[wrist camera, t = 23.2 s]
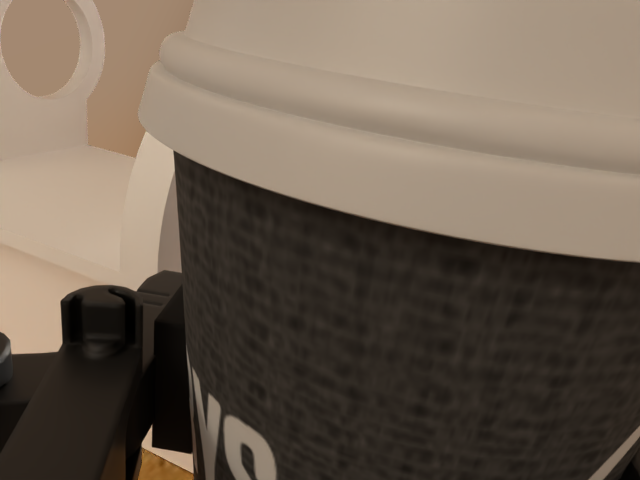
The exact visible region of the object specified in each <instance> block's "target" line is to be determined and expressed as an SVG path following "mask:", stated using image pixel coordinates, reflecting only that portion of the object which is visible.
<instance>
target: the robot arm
mask: <svg viewBox="0 0 640 480" xmlns="http://www.w3.org/2000/svg"><path fill="white" fill-rule="evenodd" d="M60 305H61V324H62V342H63V343H62V345H61V347H60V349H59V351H58V352H48V353H26V354H12V352H11V342H10V339H9V338H8V337H7V336H6V335H5V334H4V333H1V332H0V480H138V476H139V472H140V468H141V464H142V442H143V440H144V438H145V437H146V435H147V433H148V431H149V430H150V428H151V426H152V447H153V448H159V449H164V450H170V451H176V452H181V453H187V454H192V435H191V417H190V400H189V383H188V366H187V349H186V333H185V317H184V300H183V284H182V273H180V272H174V271H168V270H163V271H161V272H159V273H157V274H155V275H153V276H151V277H148V278H147V279H146V280H145V281H144V282H143V283H142V284H141V285H140V287H139V288H138V289H137V292H136V291H134V290H131V289H129V288H127V287H122V286H116V285H95V286H90V287H85V288H80V289H78V290H76V291H73V292H71V293H69V294H67V295H66V296H65V297H64V298H63V299H62V300H61V301H60ZM620 480H640V447H639V449H638V450H637V452H636V454H635V455H634V457H633V458H632V459H631V461H630V463H629V464H628V466H627V468H626V470H625V471H624V473H623V475H622V476H621V478H620Z"/></svg>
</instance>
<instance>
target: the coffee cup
mask: <svg viewBox="0 0 640 480" xmlns="http://www.w3.org/2000/svg"><path fill="white" fill-rule="evenodd" d="M159 58H160V60H159V61H157V62H155V63H154V64H153V65H152V67H151V68H150V71H149V74H148V77H147V81H146V85H145V89H144V93H143V96H142V100H141V103H140V106H139V110H138V118H139V121H140V123H141V124H142V125H143V127H144V128H145V129H146V131H147V132H148V133H150V134H151V135H152V136H153V137H154V138H156V139H157V140H158V141H160V142H161V143H163V144H164V145H166V146H167V147H169V148H170V149H172V150H173V154H174V167H175V180H176V194H177V208H178V223H179V238H180V253H181V269H182V284H183V300H184V317H185V333H186V349H187V366H188V383H189V400H190V417H191V435H192V454H193V471H194V480H620V478H621V476H622V475H623V473H624V471H625V470H626V468H627V466H628V464H629V463H630V461H631V459H632V458H633V457H634V455H635V454H636V452H637V450H638V449H639V447H640V0H194V3H193V6H192V10H191V13H190V16H189V20H188V23H187V27H186V30H185V31H181V32H175V33H172V34H170V35H168V36H167V37H166V38H165V39H164V40H163V42H162V44H161V47H160V50H159Z"/></svg>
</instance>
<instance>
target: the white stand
mask: <svg viewBox="0 0 640 480" xmlns="http://www.w3.org/2000/svg"><path fill="white" fill-rule="evenodd" d="M12 1H13V0H0V35H1V25H2V21H3V18H4V15H5V12H6V10H7V8H8V7H9V5H10V3H11V2H12ZM63 1H64V2H65V3H66V4H67V5H68V7H69V9H70V10H71V12H72V14H73V16H74V18H75V21H76V23H77V26H78V31H79V36H80V55H79V60H78V64H77V67H76V69H75V72H74V74H73V75H72V77H71V79H70V80H69V81H68V82H67V84H66V85H65V86H64V87H62V88H61V89H60V90H58V91H57V92H55V93H53V94H50V95H47V96H40V97H36V96H33V95H31V94H29V93H28V92H26V91H25V90H24V89H22V88H21V87H20V86H19V85H18V84H17V83H16V81H15V80H14V79H13V77H12V76H11V74H10V73H9V71H8V69H7V67H6V64H5V62H4V58H3V55H2V50H1V40H0V332H1V333H4V334H5V335H6V336H7V337H8V338H9V339H10V342H11V352H12V354H26V353H48V352H58V351H59V349H60V347H61V345H62V343H63V342H62V324H61V305H60V301H61V300H62V299H63V298H64V297H65V296H66V295H67V294H69V293H71V292H73V291H76V290H78V289H80V288H85V287H90V286H95V285H116V286H122V287H127V288H129V289H131V290H134V291H136V292H137V289H138V288H139V287H140V285H141V284H142V283H143V282H144V281H145V280H146V279H147V278H148V277H151V276H153V275H155V274H157V273H159V272H161V271H163V270H168V271H174V272H180V273H182V269H181V253H180V238H179V223H178V208H177V194H176V180H175V167H174V154H173V150H172V149H170V148H169V147H167V146H166V145H164V144H163V143H161V142H160V141H158V140H157V139H156V138H154V137H153V136H152V135H151V134H150V133H148V132H147V131H146V132H145V135H144V137H143V140H142V142H141V145H140V148H139V150H138V153H137V156H136V158H134V157H130V156H127V155H123V154H120V153H115V152H112V151H109V150H105V149H101V148H97V147H94V146H90V145H88V132H87V99H88V97H89V96H90V95H91V93H92V92H93V90H94V89H95V87H96V85H97V83H98V81H99V78H100V75H101V72H102V69H103V64H104V57H105V38H104V31H103V26H102V22H101V19H100V16H99V13H98V10H97V8H96V6H95V4H94V2H93V0H63ZM142 448H144V449H146V450H148V451H150V452H152V453H154V454H156V455H158V456H160V457H162V458H164V459H166V460H168V461H170V462H172V463H174V464H176V465H177V466H179V467H181V468H183V469H185V470H187V471H189V472H191V473H193V474H194V471H193V454H187V453H181V452H176V451H170V450H164V449H159V448H153V447H152V426H151V428H150V430H149V431H148V433H147V435H146V437H145V438H144V440H143V442H142Z"/></svg>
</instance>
